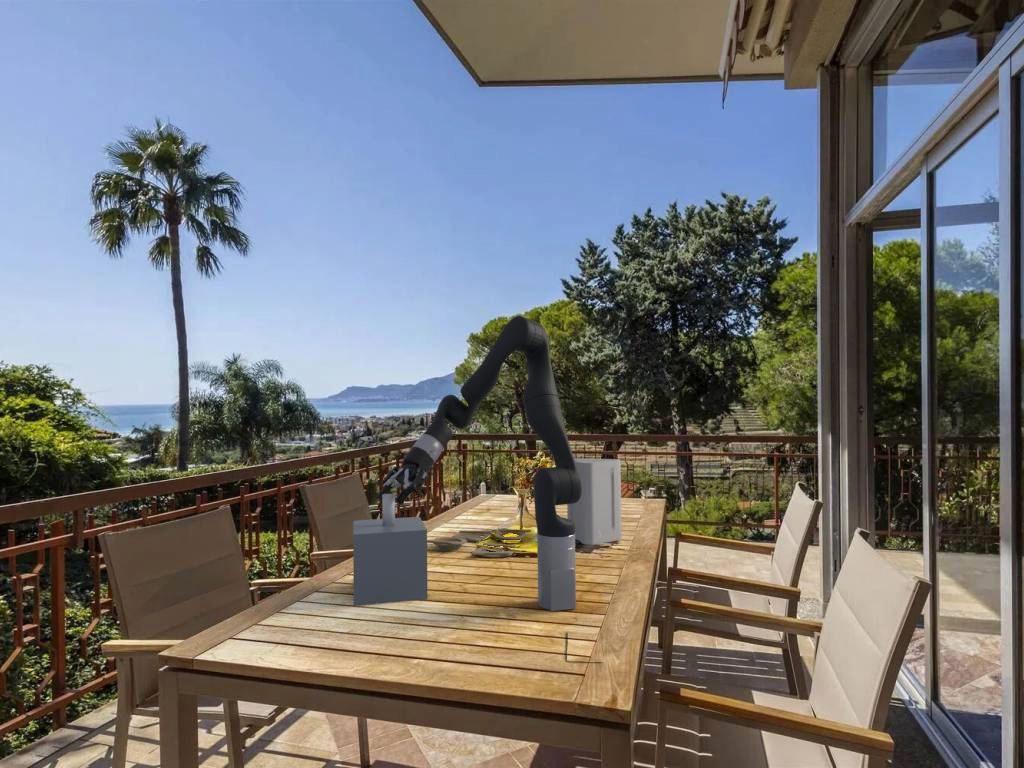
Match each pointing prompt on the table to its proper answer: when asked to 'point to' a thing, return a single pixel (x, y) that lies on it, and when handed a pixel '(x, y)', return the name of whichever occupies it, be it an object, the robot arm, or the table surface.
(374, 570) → the cover
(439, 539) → the tableware set
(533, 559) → the table surface
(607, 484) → the grey tall block
